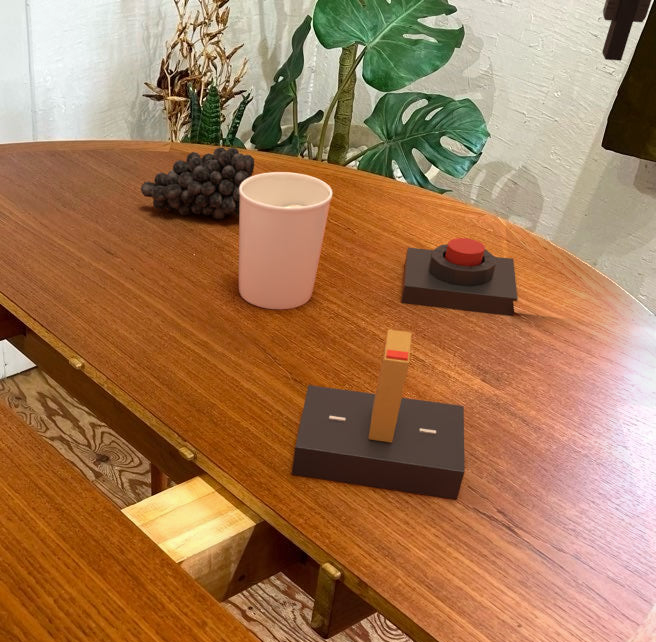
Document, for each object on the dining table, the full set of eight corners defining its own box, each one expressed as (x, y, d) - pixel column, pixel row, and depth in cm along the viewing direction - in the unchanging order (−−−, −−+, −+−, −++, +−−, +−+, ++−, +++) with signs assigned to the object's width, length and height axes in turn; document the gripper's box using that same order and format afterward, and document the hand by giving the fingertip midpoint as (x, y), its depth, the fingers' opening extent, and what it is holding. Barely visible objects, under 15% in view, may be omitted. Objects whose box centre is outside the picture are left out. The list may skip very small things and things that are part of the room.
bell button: (481, 254, 109) (484, 239, 108) (481, 270, 106) (485, 255, 105) (444, 250, 109) (448, 236, 108) (444, 265, 106) (447, 251, 105)
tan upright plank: (372, 407, 86) (388, 326, 81) (395, 411, 86) (412, 329, 80) (368, 439, 82) (384, 356, 77) (392, 443, 82) (409, 359, 77)
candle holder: (215, 283, 111) (221, 181, 103) (287, 266, 114) (298, 165, 106) (262, 321, 104) (272, 214, 96) (336, 301, 107) (351, 197, 100)
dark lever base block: (456, 432, 88) (464, 404, 86) (456, 499, 81) (465, 470, 79) (304, 411, 91) (308, 383, 89) (291, 474, 83) (295, 445, 81)
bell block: (508, 276, 112) (517, 243, 110) (512, 316, 105) (522, 283, 102) (404, 264, 115) (410, 232, 112) (400, 303, 107) (407, 270, 105)
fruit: (137, 144, 119) (258, 148, 117) (146, 144, 127) (261, 148, 125) (135, 217, 122) (253, 222, 120) (144, 212, 130) (256, 217, 128)
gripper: (625, -243, 79) (546, 61, 94) (798, -240, 77) (688, 72, 92) (614, -247, 85) (540, 41, 100) (774, -244, 82) (674, 51, 98)
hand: (611, 56), depth 96 cm, fingers closed
